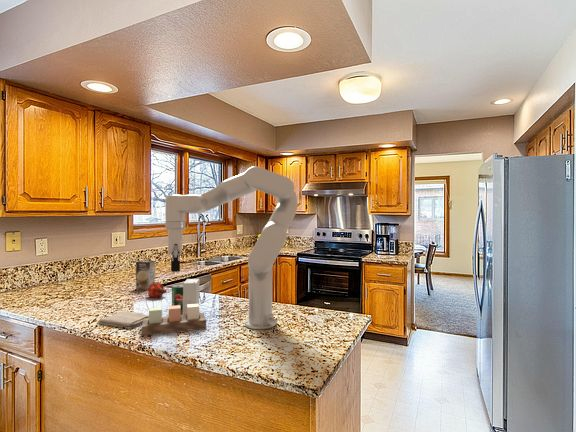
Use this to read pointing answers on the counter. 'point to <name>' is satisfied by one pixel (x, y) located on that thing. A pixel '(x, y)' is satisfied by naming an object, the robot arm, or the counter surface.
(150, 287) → the dragon fruit
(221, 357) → the counter surface
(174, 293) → the canned tomato
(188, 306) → the cream key
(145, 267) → the coffee box
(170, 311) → the terracotta key
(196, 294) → the skincare box
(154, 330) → the brown slotted tray
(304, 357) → the counter surface
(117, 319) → the washcloth
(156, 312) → the sage key
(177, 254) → the robot arm
